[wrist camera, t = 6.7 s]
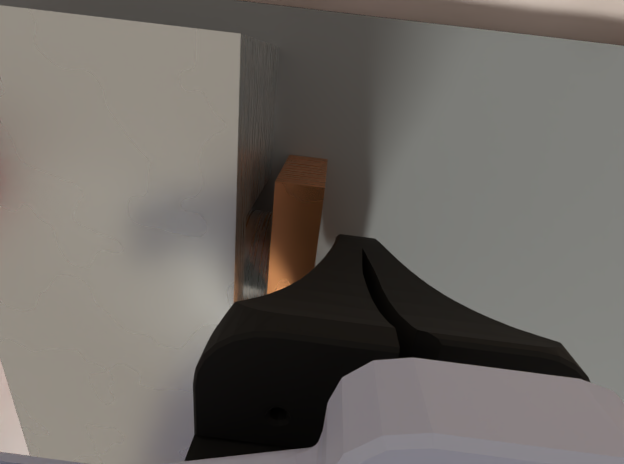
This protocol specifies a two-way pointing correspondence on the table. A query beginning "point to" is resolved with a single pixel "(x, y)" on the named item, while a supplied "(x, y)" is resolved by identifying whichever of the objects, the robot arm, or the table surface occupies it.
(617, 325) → the mat
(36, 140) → the hitch block
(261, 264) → the pin
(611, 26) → the table surface
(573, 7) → the table surface
